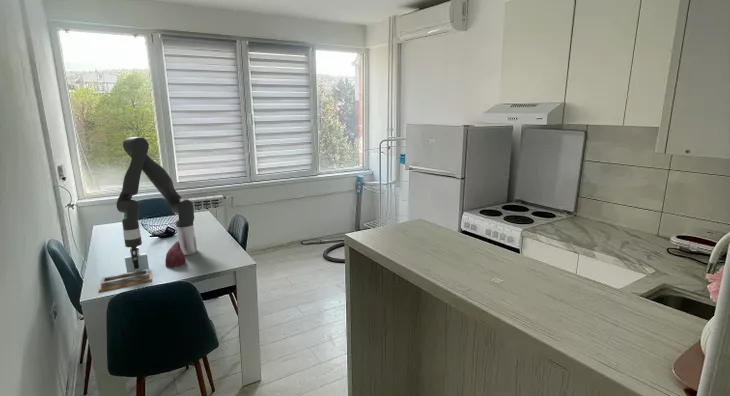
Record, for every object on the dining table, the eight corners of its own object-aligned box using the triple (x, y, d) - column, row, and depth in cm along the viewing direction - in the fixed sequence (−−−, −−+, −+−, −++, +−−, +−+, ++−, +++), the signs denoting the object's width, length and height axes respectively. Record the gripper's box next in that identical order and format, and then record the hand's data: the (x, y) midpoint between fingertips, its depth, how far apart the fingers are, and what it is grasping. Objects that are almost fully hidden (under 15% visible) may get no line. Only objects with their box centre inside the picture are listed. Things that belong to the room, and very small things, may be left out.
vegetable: (188, 265, 213) (193, 240, 212) (179, 271, 203) (185, 244, 201) (169, 261, 212) (174, 236, 211) (160, 266, 202) (165, 240, 201)
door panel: (149, 268, 202) (146, 252, 200) (149, 270, 200) (146, 254, 198) (127, 272, 197) (124, 256, 195) (127, 274, 195) (124, 258, 193)
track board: (151, 272, 197) (150, 266, 196) (152, 281, 186) (151, 275, 186) (101, 282, 186) (100, 276, 185) (98, 292, 176) (97, 285, 175)
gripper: (140, 239, 190) (145, 268, 194) (140, 231, 202) (144, 259, 206) (123, 241, 186) (128, 272, 190) (124, 234, 198) (129, 262, 202)
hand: (136, 265), depth 198 cm, fingers open, 8 cm apart
